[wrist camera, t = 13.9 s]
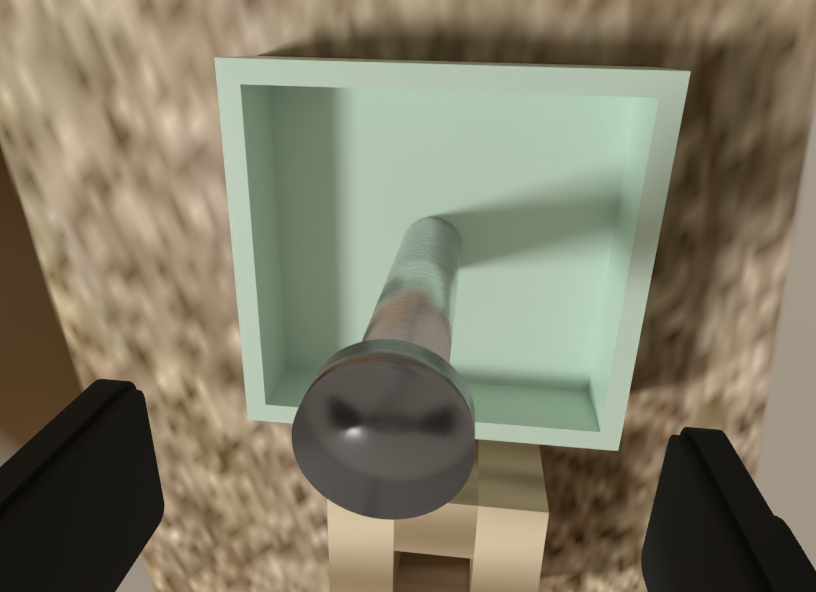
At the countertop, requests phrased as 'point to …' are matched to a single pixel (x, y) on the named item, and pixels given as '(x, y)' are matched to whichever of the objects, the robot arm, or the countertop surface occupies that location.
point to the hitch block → (452, 534)
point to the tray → (452, 222)
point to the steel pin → (395, 394)
